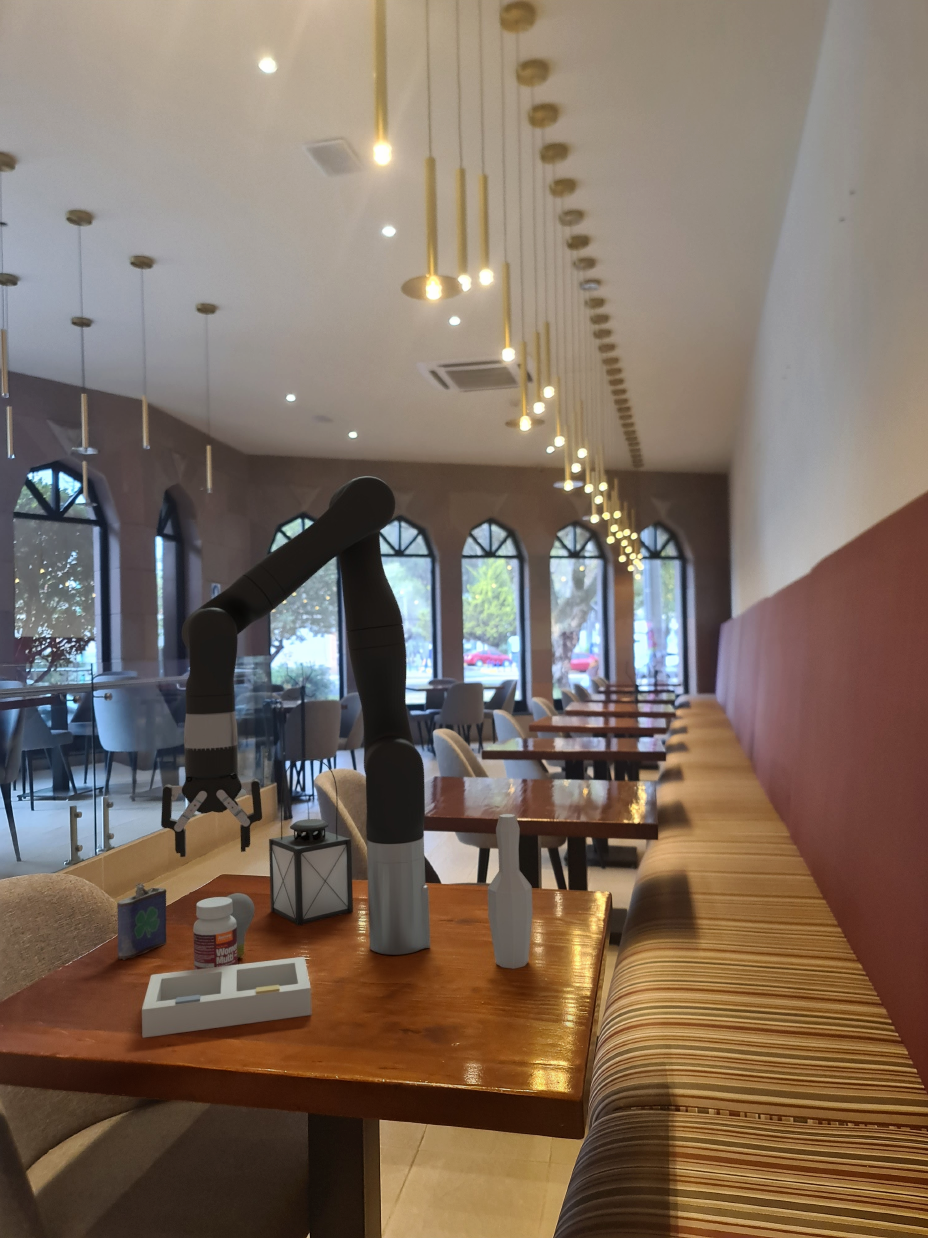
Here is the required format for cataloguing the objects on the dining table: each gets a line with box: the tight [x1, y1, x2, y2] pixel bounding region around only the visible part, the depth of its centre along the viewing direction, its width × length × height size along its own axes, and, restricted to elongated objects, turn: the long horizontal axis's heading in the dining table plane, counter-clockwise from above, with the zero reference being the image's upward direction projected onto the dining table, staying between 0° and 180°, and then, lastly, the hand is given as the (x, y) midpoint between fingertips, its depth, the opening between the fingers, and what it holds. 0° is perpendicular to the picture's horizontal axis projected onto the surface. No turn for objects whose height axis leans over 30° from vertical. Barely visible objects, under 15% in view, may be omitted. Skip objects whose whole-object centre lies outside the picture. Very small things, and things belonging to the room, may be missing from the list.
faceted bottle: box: [487, 813, 533, 970], centre depth 131 cm, size 6×6×22 cm
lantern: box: [268, 757, 354, 926], centre depth 160 cm, size 11×11×28 cm
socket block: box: [141, 956, 312, 1039], centre depth 118 cm, size 21×12×4 cm, turn 104°
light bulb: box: [226, 892, 255, 960], centre depth 137 cm, size 6×6×10 cm
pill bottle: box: [192, 896, 239, 970], centre depth 128 cm, size 6×6×11 cm
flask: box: [116, 882, 167, 961], centre depth 142 cm, size 9×3×11 cm, turn 151°
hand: (213, 853), depth 129 cm, fingers open, 8 cm apart
